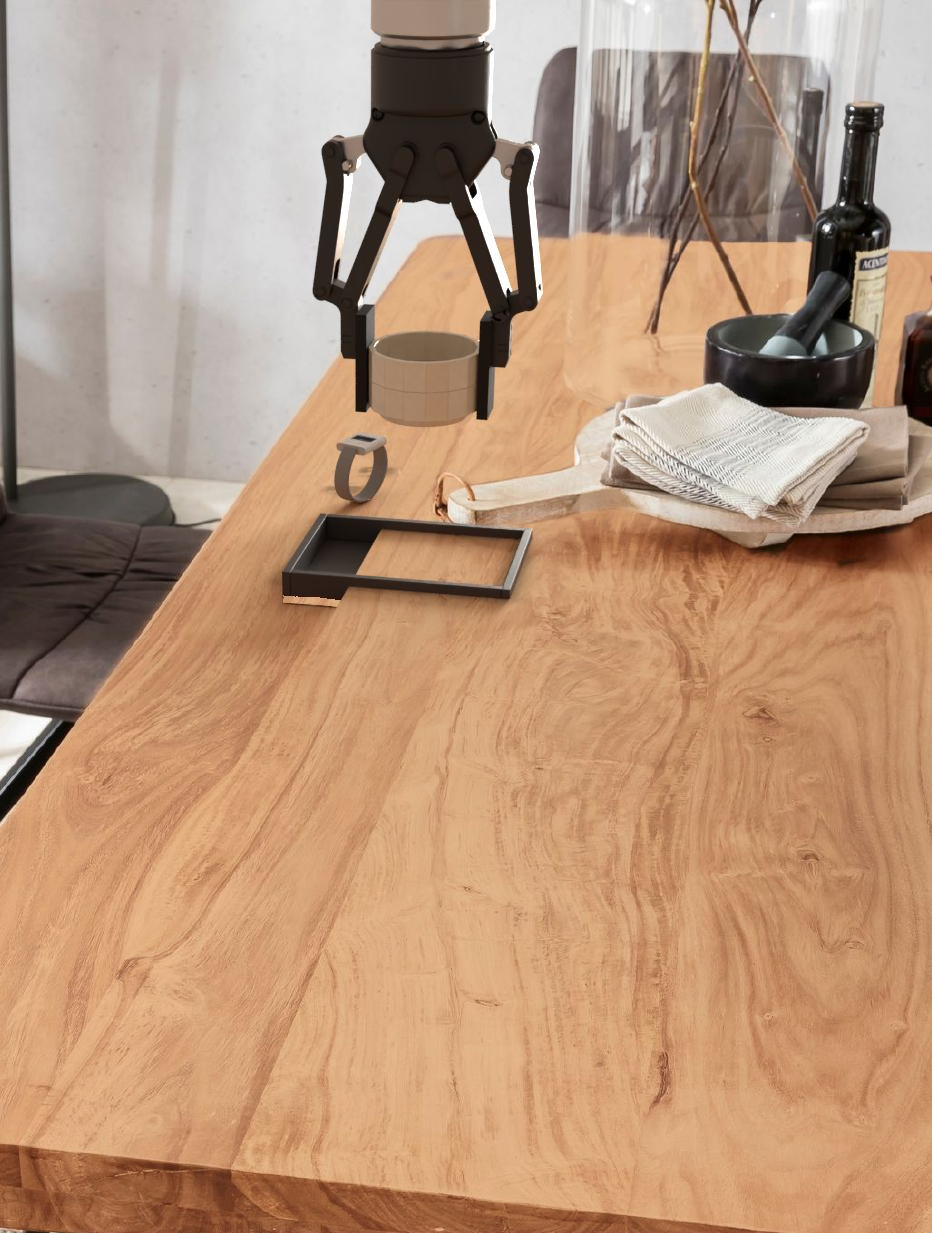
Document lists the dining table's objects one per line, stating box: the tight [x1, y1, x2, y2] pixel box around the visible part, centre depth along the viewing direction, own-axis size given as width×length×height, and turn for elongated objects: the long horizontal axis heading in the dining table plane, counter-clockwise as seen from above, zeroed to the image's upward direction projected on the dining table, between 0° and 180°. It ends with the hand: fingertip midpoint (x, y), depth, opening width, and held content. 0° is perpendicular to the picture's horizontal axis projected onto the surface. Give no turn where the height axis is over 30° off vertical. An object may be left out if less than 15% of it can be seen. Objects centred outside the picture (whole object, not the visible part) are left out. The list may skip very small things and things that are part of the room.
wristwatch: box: [333, 431, 389, 504], centre depth 138 cm, size 6×3×5 cm, turn 146°
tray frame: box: [281, 512, 534, 601], centre depth 125 cm, size 16×12×2 cm
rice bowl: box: [368, 330, 479, 428], centre depth 117 cm, size 8×8×4 cm
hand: (424, 409), depth 118 cm, fingers closed on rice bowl, 8 cm apart
